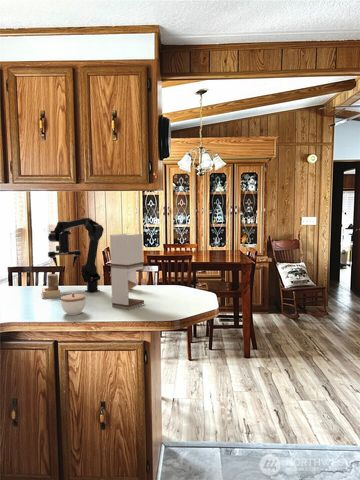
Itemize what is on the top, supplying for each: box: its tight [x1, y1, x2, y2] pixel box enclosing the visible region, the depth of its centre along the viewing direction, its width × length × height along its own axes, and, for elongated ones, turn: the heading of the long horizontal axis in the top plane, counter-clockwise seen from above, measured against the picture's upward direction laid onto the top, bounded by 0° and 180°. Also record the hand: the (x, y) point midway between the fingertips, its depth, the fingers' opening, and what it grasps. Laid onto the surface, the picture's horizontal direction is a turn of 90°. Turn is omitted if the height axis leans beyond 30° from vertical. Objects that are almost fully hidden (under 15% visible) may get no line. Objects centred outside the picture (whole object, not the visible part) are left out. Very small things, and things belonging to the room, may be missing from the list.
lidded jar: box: [60, 292, 86, 316], centre depth 167 cm, size 11×11×9 cm
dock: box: [40, 287, 64, 300], centre depth 205 cm, size 11×12×4 cm
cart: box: [47, 273, 59, 291], centre depth 205 cm, size 5×6×11 cm
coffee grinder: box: [109, 233, 145, 311], centre depth 178 cm, size 11×11×35 cm
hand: (65, 267), depth 223 cm, fingers open, 9 cm apart
